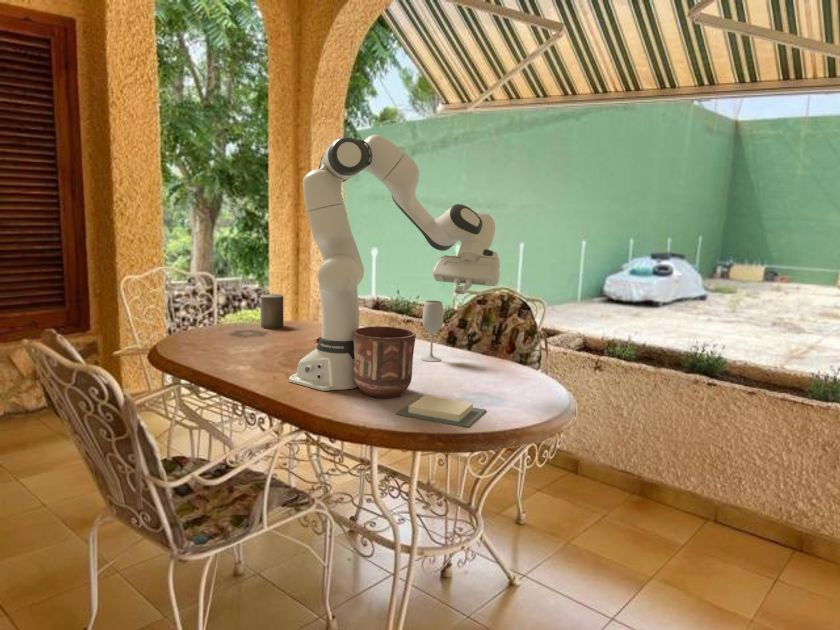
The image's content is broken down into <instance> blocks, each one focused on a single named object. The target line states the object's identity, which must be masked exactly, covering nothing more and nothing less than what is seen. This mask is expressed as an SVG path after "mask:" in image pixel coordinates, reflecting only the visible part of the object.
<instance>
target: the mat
mask: <svg viewBox="0 0 840 630" xmlns="http://www.w3.org/2000/svg"><path fill="white" fill-rule="evenodd" d="M420 398H421V397H418V398H416V399H415V400H413V401H412V402H410V403H408V404H407V405H406V406H405V407H402V408H401V409H399V410H398V411H397V412H395V415H397V416H403V417H408V418H414V419H419V420H424V421H430V422H434V423H439V424H445V425H451V426H456V427H460V428H461V427H463V428H467V429H469V428H470V427H471V426H472V425H473V424H475V422H476V421H477V420H478V419H480V417H482V416H483V415H484V414H486V412H487V409H483V408H478V407H473V411H472V412H470V413H469V414H468V415H467V416H466V417H465V418H464V419H462V420H461V421H460V422H459V423H458V422H452V421H447V420H441V419H436V418H431V417H425V416H420V415H414V414H409V413H408V410H409V406H410V405H411V404H413V403H414V402H416V401H417V400H419V399H420Z"/></svg>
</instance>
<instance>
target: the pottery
mask: <svg viewBox="0 0 840 630" xmlns="http://www.w3.org/2000/svg"><path fill="white" fill-rule="evenodd" d="M416 338H417V337H416V333H415V332H414V331H412V330H410V329H407V328H403V327H396V326H395V327H394V326H380V325H379V326H376V325H375V326H365V327H359V329H356V330H354V332H353V341H354V358H355V359H354V379H355V382H356V384H357V386H358V387H357V388H359V390H360V391H361V392H362V393H363V394H365V395H366V396H369V397H373V398H379V399H381V398H382V399H388V398H396V397H400V396H402V395H403V393H404V392H406V391H407V390H408V388H409V387H410V384H411V382H412V378H413V377H412V376H413V363H414V362H413V361H414V351H415V344H416Z"/></svg>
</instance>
